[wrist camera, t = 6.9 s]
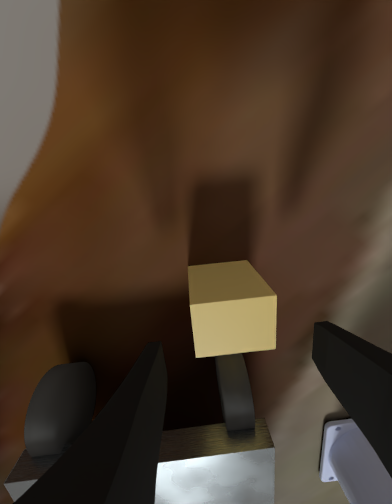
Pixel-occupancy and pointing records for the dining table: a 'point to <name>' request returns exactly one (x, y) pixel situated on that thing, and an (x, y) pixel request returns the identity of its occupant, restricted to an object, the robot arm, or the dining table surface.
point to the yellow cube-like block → (231, 309)
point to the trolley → (172, 442)
